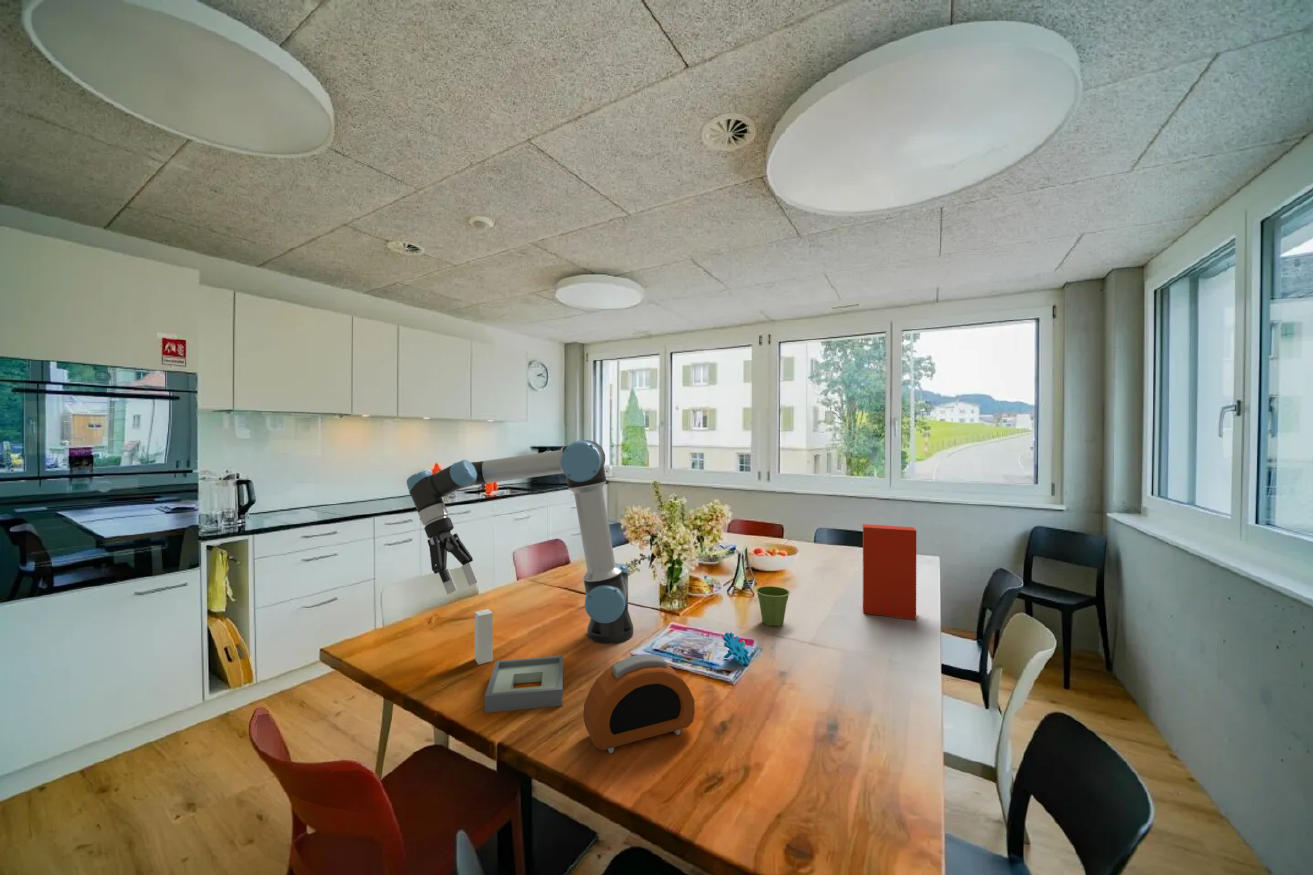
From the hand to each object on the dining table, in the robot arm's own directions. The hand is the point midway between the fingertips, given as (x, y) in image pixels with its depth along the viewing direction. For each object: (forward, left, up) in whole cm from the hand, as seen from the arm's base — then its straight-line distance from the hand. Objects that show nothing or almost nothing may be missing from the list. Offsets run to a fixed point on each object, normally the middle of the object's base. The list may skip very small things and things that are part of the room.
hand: (463, 588), depth 140 cm
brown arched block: (-46, +43, -21) cm, 66 cm away
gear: (-79, +14, -21) cm, 83 cm away
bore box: (-20, +20, -21) cm, 35 cm away
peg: (-6, +1, -21) cm, 22 cm away
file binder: (-147, -12, -21) cm, 149 cm away
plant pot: (-101, -11, -21) cm, 104 cm away
